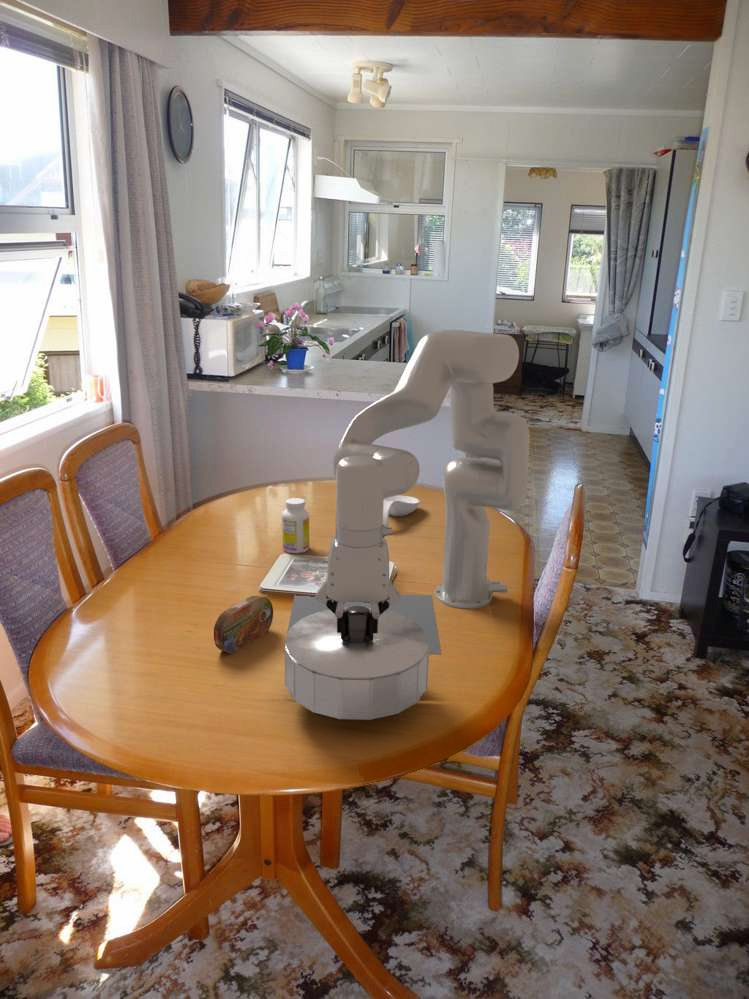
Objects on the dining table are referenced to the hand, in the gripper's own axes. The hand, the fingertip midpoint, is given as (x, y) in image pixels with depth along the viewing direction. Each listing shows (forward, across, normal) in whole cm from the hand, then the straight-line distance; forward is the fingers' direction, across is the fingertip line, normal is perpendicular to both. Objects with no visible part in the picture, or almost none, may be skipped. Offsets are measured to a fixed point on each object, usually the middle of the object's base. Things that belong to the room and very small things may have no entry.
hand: (357, 635), depth 136 cm
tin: (+13, +22, -20) cm, 32 cm away
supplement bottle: (+13, +16, -68) cm, 71 cm away
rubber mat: (+13, -1, -29) cm, 32 cm away
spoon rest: (+13, -9, -92) cm, 93 cm away
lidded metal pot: (+8, 0, 0) cm, 8 cm away
